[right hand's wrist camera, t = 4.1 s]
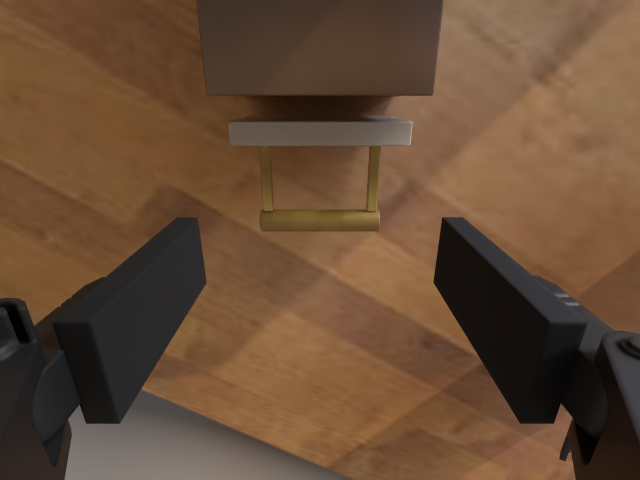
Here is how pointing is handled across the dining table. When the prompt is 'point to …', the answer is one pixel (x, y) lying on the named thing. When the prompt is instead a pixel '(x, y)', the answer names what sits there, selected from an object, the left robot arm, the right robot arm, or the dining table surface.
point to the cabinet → (320, 47)
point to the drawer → (319, 133)
